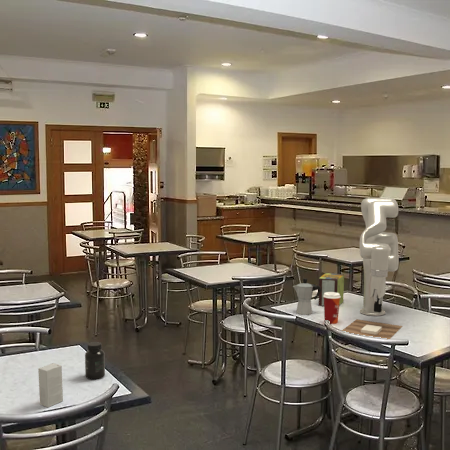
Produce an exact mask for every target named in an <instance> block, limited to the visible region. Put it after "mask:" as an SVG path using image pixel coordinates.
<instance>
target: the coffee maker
mask: <svg viewBox="0 0 450 450" xmlns="http://www.w3.org/2000/svg"><path fill="white" fill-rule="evenodd" d="M302 281H303V282H302V283H301V282H300V283H298V284H296V285H293V286H292V288H293V289H294V290H295V292H296V295H297V296H296V297H297V306H296V314H297V315H301V316H309V315H313V309H312V300H311V299H314V300H315V301H316V300H317V298H319V294H320V292H321V291H322V289H321V287H320V286H319V285H316V283H315V284H314V283H313V284H311V283H308V278H306V277H304V278H302ZM317 290H318V292H317V293H316V295H315V296H314V297H313V292H315V291H317ZM312 297H313V298H312Z"/></svg>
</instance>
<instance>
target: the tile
mask: <svg viewBox="0 0 450 450" xmlns="http://www.w3.org/2000/svg"><path fill="white" fill-rule="evenodd" d="M381 330H382V327H380V326H373V325H366V326H364V327H363V328H362V329H361V333H366V334H372V335H377V334H378V333H379V332H380V331H381Z"/></svg>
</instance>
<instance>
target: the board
mask: <svg viewBox="0 0 450 450" xmlns="http://www.w3.org/2000/svg"><path fill="white" fill-rule="evenodd" d="M366 325H373V326H380V327H382V330H381V331H380V332H379V333H378V334H377V335H372V334H366V333H361V329H362V328H363V327H364V326H366ZM401 328H403V325H398V324H391V323H384V322H377V321H373V320H372V321H371V320H363V319H357V318H356V319H355V320H354V321H353V322H351V323H350V324H348V325H347V326H346V327H344V328H343V329H342V330H341V331H346V332H349V333H348V334H351V333H354V334H353V335H357V334H359V336H363V335H365V336H364V337H369V336H373V337H372V338H375V337H381V338H387V339H386V340H388V339H390V340H391V339H392V338H393V337H394V336H395V334H397V333H398V332H399V331H400V329H401ZM381 338H380V339H381Z"/></svg>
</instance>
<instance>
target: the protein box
mask: <svg viewBox="0 0 450 450" xmlns="http://www.w3.org/2000/svg"><path fill="white" fill-rule="evenodd" d="M344 285H345V274H339V273H328V272H326V273H324V274H322V275H321V276H320V277H319V278H318V286H320V287H321V289H322V291H321V292H320V294H319V295H318V307H324V297H323V295H324V293H326V292H336V293H339V294H340V302H339V306H340V305H341V304H343V303H344V290H345V289H344V288H345V287H344Z"/></svg>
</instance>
